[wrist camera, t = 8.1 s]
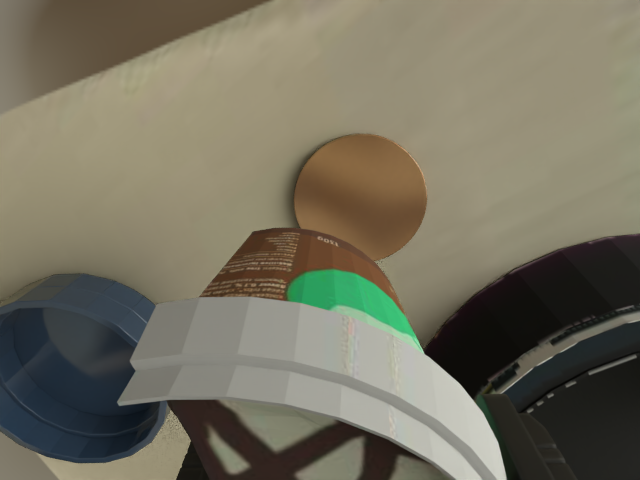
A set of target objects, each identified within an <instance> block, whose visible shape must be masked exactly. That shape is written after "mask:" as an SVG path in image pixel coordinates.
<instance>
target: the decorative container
mask: <svg viewBox="0 0 640 480" xmlns="http://www.w3.org/2000/svg"><path fill="white" fill-rule="evenodd" d="M423 352H424V354H425V355H426V356H428V357H430V358H431V359H432V360H433V361H434V362H435V363H437V364H438V365H439V366H440V367H441V368H442V369H443V370H445V371H446V372H447V373H448V374H449V375H450V376H451V377H453V378H454V379H455V380H456V381H457V382H458V383H459V384H461V386H462V387H463V388H464V389H465V391H466V392H467V393H468V395H469V396H470V397H471V398H472V400H473V401H474V402H475V403H476V398H477V395H478V394H506V395H507V396H508V397H509V398H510V400H511V402H512V404H513V405H514V407H515V409H516V411H517V413H529V414H530V415H531V416H533V417H534V418H535V419H536V420H537V421H538V422H539V423H541V424H542V425H543V426H544V427H545V428H546V430H547V431H548V433H549V434H550V436H551V438H552V439H553V441H554V442H555V444H556V447H557V449H559V451H560V452H561V454H562V455H563V457H564V459H565V462H566V464H568V465H569V467H570V468H571V470H572V472H573V473H574V475H575V476H576V478H577V480H640V234H636V235H625V236H615V237H606V238H603V239H599V240H595V241H591V242H587V243H584V244H580V245H576V246H572V247H568V248H565V249H561V250H558V251H556V252H554V253H551V254H549V255H547V256H544V257H542V258H540V259H538V260H535V261H533V262H531V263H529V264H526V265H524V266H522V267H520V268H517V269H515V270H513V271H512V272H510V273H509V274H507V275H506V276H504V277H503V278H501V279H500V280H498V281H496V282H495V283H493V284H492V285H490V286H489V287H487V288H486V289H484V290H483V291H481V292H480V293H478V294H476V295H475V296H474V297H473V298H472V299H471V300H470V301H469V302H468V303H467V304H466V305H464V306H463V307H462V308H461V309H460V310H459V311H458V312H457V313H456V314H455V315H454V316H452V317H451V318H450V319H449V320H448V321H447V322H446V323H445V324H444V325H443V327H442V328H441V329H440V331H439V332H438V333H437V334H436V336H435V337H434V338H433V340H432V341H431V342H430V344H429V345H428V346H427V347H426V349H425V350H424V351H423Z"/></svg>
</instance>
